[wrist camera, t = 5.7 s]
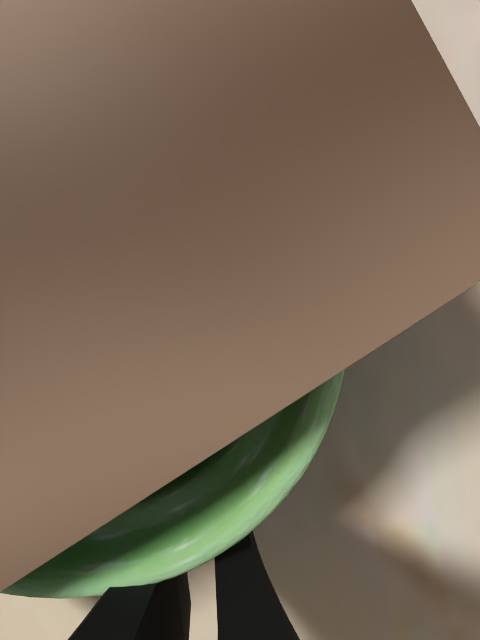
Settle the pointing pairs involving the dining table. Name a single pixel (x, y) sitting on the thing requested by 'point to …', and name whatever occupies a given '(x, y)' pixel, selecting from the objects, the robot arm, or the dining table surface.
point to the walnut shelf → (206, 231)
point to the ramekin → (194, 508)
